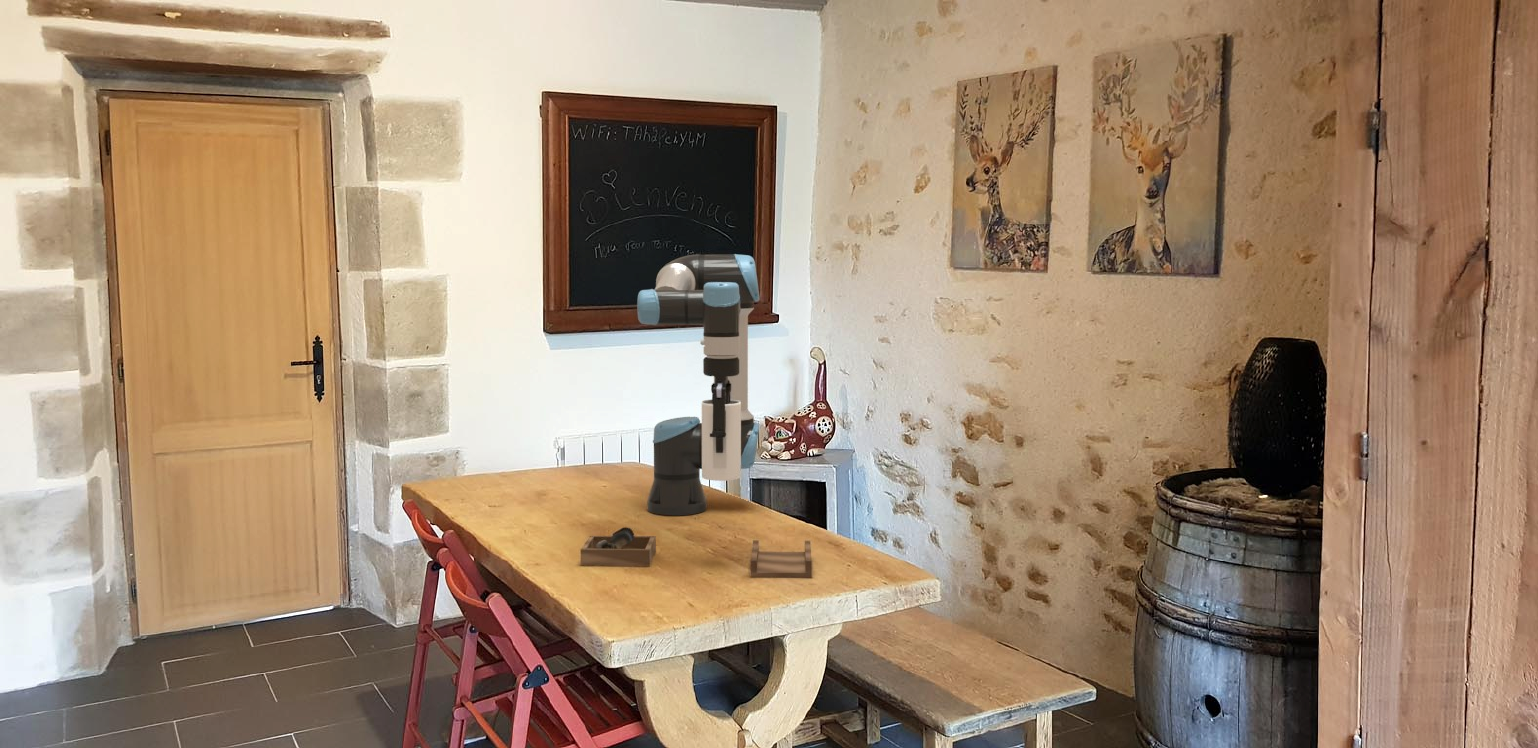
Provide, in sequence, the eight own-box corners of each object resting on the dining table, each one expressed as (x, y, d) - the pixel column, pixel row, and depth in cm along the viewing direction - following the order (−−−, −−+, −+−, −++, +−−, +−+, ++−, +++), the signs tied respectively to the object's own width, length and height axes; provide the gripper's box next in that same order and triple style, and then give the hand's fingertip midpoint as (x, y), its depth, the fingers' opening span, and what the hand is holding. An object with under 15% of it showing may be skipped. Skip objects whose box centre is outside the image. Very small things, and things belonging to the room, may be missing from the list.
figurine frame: (590, 551, 252) (589, 535, 251) (655, 551, 251) (655, 536, 251) (580, 566, 240) (580, 549, 240) (649, 566, 240) (649, 550, 240)
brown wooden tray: (753, 555, 248) (753, 540, 248) (810, 556, 248) (810, 540, 248) (750, 577, 232) (750, 560, 232) (811, 577, 232) (811, 561, 232)
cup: (706, 481, 236) (706, 404, 234) (698, 474, 244) (698, 399, 242) (745, 479, 238) (745, 403, 236) (735, 472, 246) (735, 398, 244)
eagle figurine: (636, 559, 241) (642, 541, 250) (616, 533, 240) (623, 515, 248) (607, 577, 243) (614, 558, 251) (587, 551, 241) (595, 532, 250)
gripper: (707, 351, 248) (708, 454, 251) (698, 361, 228) (698, 473, 230) (742, 351, 248) (742, 454, 251) (736, 361, 227) (736, 473, 230)
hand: (721, 463), depth 240 cm, fingers closed on cup, 8 cm apart
